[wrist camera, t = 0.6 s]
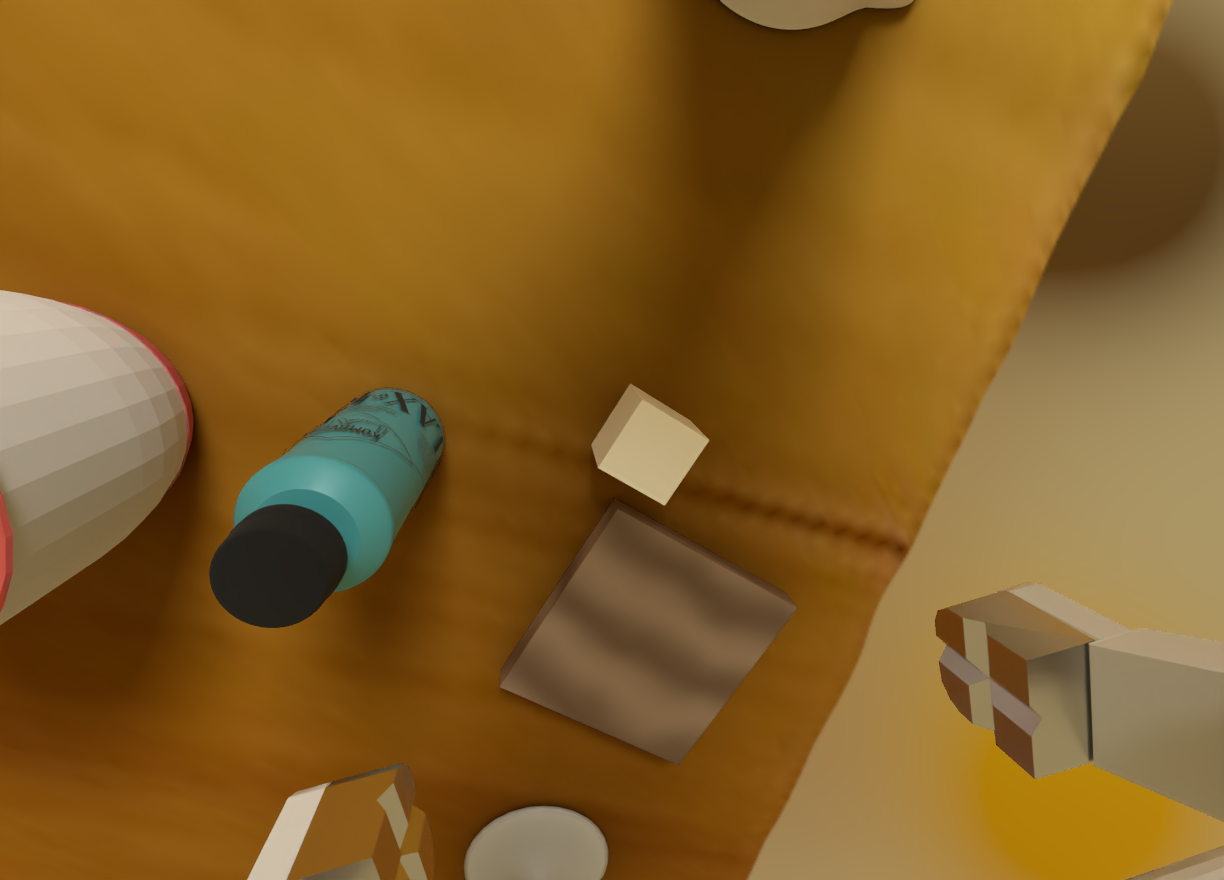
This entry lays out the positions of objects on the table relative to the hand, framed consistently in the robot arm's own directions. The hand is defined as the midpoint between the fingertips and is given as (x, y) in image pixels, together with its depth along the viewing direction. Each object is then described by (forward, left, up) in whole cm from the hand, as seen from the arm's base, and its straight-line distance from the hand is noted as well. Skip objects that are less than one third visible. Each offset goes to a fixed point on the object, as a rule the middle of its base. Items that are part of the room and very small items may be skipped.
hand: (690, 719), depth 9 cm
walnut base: (+15, +15, -32) cm, 39 cm away
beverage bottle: (+10, -8, -32) cm, 35 cm away
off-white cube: (+2, +6, -32) cm, 33 cm away
